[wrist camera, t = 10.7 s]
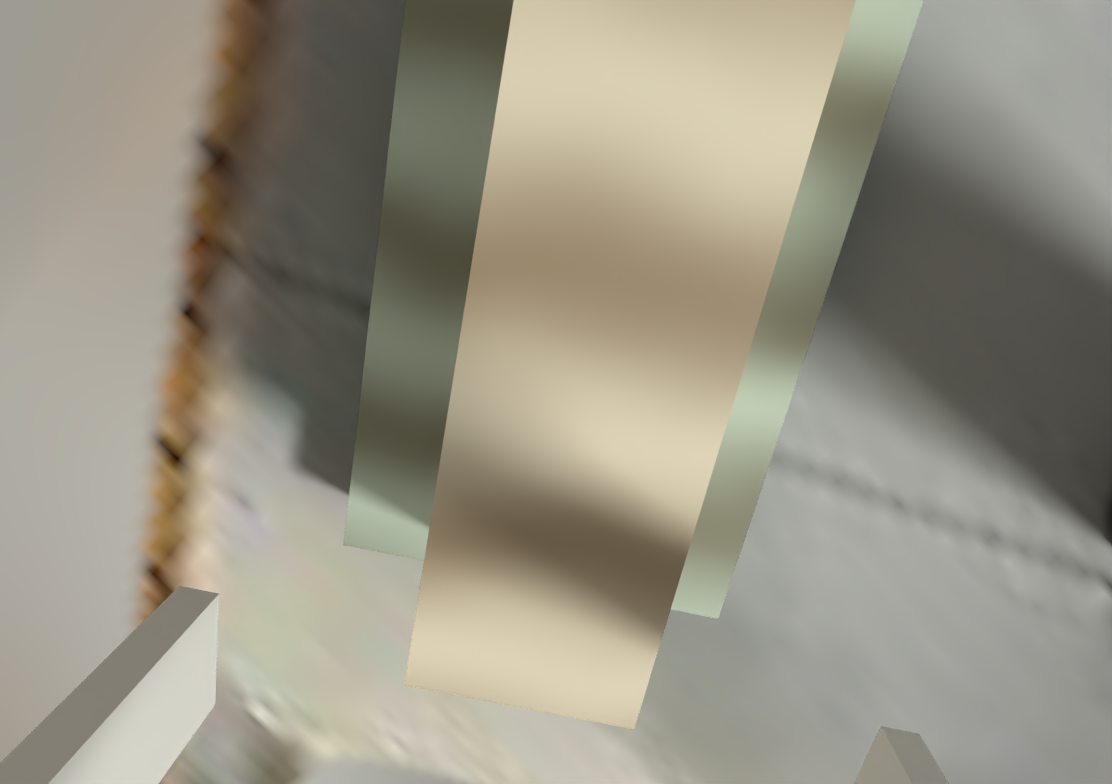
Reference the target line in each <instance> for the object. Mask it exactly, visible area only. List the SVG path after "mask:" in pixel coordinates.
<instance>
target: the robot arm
mask: <svg viewBox="0 0 1112 784" xmlns="http://www.w3.org/2000/svg"><path fill="white" fill-rule="evenodd" d="M218 609H219V594H217V593H212V592H207V591H202V590H197V589H192V588H187V587H182V586H179V587H178V588H177V589H176V590H175V591H174V592H173V593H172V594H171V595H170V596H169V597H168V598H167V599H166V600H165V601H164V602H163V603H162V604H161V605H160V606H159V607H158V608H157V609H156V610H155V611H154V612H153V613H152V614H151V615H150V616H149V617H148V618H147V619H146V620H145V621H144V622H143V623H142V624H141V625H140V626H139V627H138V628H137V629H136V630H135V631H133V632H132V633H131V634H130V635H129V636H128V637H127V638H126V639H125V640H124V641H123V642H122V643H121V644H120V645H119V646H118V647H117V648H116V649H115V650H114V651H113V652H112V653H111V654H110V655H109V656H108V657H107V658H106V659H105V660H104V661H103V662H102V663H101V664H100V665H99V666H98V667H97V668H96V669H95V670H94V671H93V672H92V673H91V674H90V675H89V676H88V677H87V678H86V679H85V680H84V681H83V682H82V683H81V684H80V685H79V686H78V687H77V688H76V689H75V690H74V691H73V692H72V693H71V694H70V695H69V696H68V697H67V698H66V699H65V700H64V701H63V702H61V704H60V705H58V706H57V707H56V708H55V709H54V711H52V712H51V713H50V714H49V715H48V716H47V717H46V718H45V719H44V720H43V721H42V722H41V723H40V724H39V725H38V726H37V727H36V728H35V729H34V730H33V731H32V732H31V733H30V734H29V735H28V736H27V737H26V738H25V739H24V740H23V741H22V742H21V743H20V744H19V745H18V746H17V747H16V748H15V749H14V750H13V751H12V752H11V753H10V754H9V755H8V756H7V757H6V758H5V759H4V760H3V761H2V762H1V763H0V784H158V783H159V782H160V781H161V779H162V778H163V777H164V775H165V774H166V772H167V771H168V770H169V768H170V767H171V765H172V764H173V763H174V761H175V760H176V758H177V757H178V756H179V754H180V753H181V751H182V750H183V749H184V747H185V746H186V744H187V743H188V742H189V740H190V739H191V737H192V736H193V735H194V733H195V732H196V730H197V729H198V728H199V726H200V725H201V723H202V722H203V721H204V719H205V718H206V716H207V715H208V714H209V712H210V711H211V709H212V708H213V707H214V705H215V696H216V667H217V638H218ZM854 784H949V783H948V781H947V780H946V778H945V776H944V775H943V773H942V771H941V770H940V768H939V766H938V765H937V763H936V761H935V760H934V758H933V756H932V755H931V753H930V751H929V750H928V748H927V746H926V745H925V743H924V741H923V740H922V738H921V736H920V735H919V734H917V733H912V732H907V731H902V730H897V729H892V728H887V727H882V726H881V728H880V730H879V732H878V734H877V736H876V738H875V740H874V742H873V745H872V747H871V749H870V751H869V753H868V755H867V757H866V759H865V761H864V764H863V766H862V768H861V770H860V772H859V774H858V776H857V778H856V781H855V783H854Z"/></svg>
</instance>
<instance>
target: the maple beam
mask: <svg viewBox="0 0 1112 784" xmlns="http://www.w3.org/2000/svg"><path fill="white" fill-rule="evenodd" d="M855 2H856V0H514V1H513V8H512V14H511V20H510V26H509V33H508V39H507V45H506V51H505V58H504V64H503V70H502V76H501V83H500V89H499V95H498V101H497V108H496V114H495V120H494V126H493V133H492V139H491V145H490V151H489V158H488V164H487V170H486V176H485V183H484V189H483V195H482V201H481V208H480V214H479V220H478V226H477V233H476V239H475V245H474V251H473V258H472V264H471V270H470V276H469V283H468V289H467V295H466V301H465V308H464V314H463V320H462V326H461V333H460V339H459V345H458V351H457V358H456V364H455V370H454V377H453V383H452V389H451V395H450V402H449V408H448V414H447V420H446V427H445V433H444V439H443V445H442V452H441V458H440V464H439V470H438V477H437V483H436V489H435V495H434V502H433V508H432V514H431V520H430V527H429V533H428V539H427V545H426V552H425V558H424V564H423V570H422V577H421V583H420V589H419V595H418V602H417V608H416V614H415V620H414V627H413V633H412V639H411V645H410V652H409V658H408V664H407V670H406V677H405V683H404V685H406V686H411V687H417V688H422V689H427V690H432V691H437V692H443V693H448V694H453V695H458V696H463V697H468V698H474V699H479V700H484V701H489V702H494V703H500V704H505V705H510V706H515V707H520V708H526V709H531V710H536V711H541V712H546V713H551V714H557V715H562V716H567V717H572V718H577V719H583V720H588V721H593V722H598V723H603V724H609V725H614V726H619V727H624V728H629V729H634V728H635V725H636V721H637V718H638V715H639V711H640V708H641V705H642V702H643V698H644V695H645V692H646V688H647V685H648V682H649V679H650V675H651V672H652V669H653V665H654V662H655V659H656V656H657V652H658V649H659V646H660V642H661V639H662V636H663V633H664V629H665V626H666V623H667V619H668V616H669V613H670V610H671V606H672V603H673V600H674V596H675V593H676V590H677V587H678V583H679V580H680V577H681V573H682V570H683V567H684V564H685V560H686V557H687V554H688V550H689V547H690V544H691V541H692V537H693V534H694V531H695V527H696V524H697V521H698V518H699V514H700V511H701V508H702V504H703V501H704V498H705V495H706V491H707V488H708V485H709V481H710V478H711V475H712V472H713V468H714V465H715V462H716V458H717V455H718V452H719V449H720V445H721V442H722V439H723V435H724V432H725V429H726V426H727V422H728V419H729V416H730V412H731V409H732V406H733V403H734V399H735V396H736V393H737V389H738V386H739V383H740V380H741V376H742V373H743V370H744V366H745V363H746V360H747V357H748V353H749V350H750V347H751V343H752V340H753V337H754V334H755V330H756V327H757V324H758V320H759V317H760V314H761V311H762V307H763V304H764V301H765V297H766V294H767V291H768V288H769V284H770V281H771V278H772V274H773V271H774V268H775V265H776V261H777V258H778V255H779V251H780V248H781V245H782V242H783V238H784V235H785V232H786V228H787V225H788V222H789V219H790V215H791V212H792V209H793V205H794V202H795V199H796V196H797V192H798V189H799V186H800V182H801V179H802V176H803V173H804V169H805V166H806V163H807V159H808V156H809V153H810V150H811V146H812V143H813V140H814V136H815V133H816V130H817V127H818V123H819V120H820V117H821V113H822V110H823V107H824V104H825V100H826V97H827V94H828V90H829V87H830V84H831V81H832V77H833V74H834V71H835V67H836V64H837V61H838V58H839V54H840V51H841V48H842V44H843V41H844V38H845V35H846V31H847V28H848V25H849V21H850V18H851V15H852V12H853V8H854V5H855Z"/></svg>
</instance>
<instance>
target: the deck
mask: <svg viewBox="0 0 1112 784" xmlns="http://www.w3.org/2000/svg"><path fill="white" fill-rule="evenodd" d="M513 1H514V0H405V6H404V15H403V24H402V33H401V42H400V50H399V59H398V68H397V77H396V86H395V94H394V103H393V112H392V121H391V130H390V139H389V147H388V156H387V165H386V174H385V183H384V191H383V200H382V209H381V218H380V227H379V235H378V244H377V253H376V262H375V271H374V280H373V288H372V297H371V306H370V315H369V324H368V332H367V341H366V350H365V359H364V368H363V377H362V385H361V394H360V403H359V412H358V421H357V429H356V438H355V447H354V456H353V465H352V474H351V482H350V491H349V500H348V509H347V518H346V526H345V535H344V544H343V545H347V546H352V547H357V548H362V549H367V550H372V551H377V552H382V553H387V554H392V555H397V556H403V557H408V558H413V559H418V560H423V561H424V558H425V552H426V545H427V539H428V533H429V527H430V520H431V514H432V508H433V502H434V495H435V489H436V483H437V477H438V470H439V464H440V458H441V452H442V445H443V439H444V433H445V427H446V420H447V414H448V408H449V402H450V395H451V389H452V383H453V377H454V370H455V364H456V358H457V351H458V345H459V339H460V333H461V326H462V320H463V314H464V308H465V301H466V295H467V289H468V283H469V276H470V270H471V264H472V258H473V251H474V245H475V239H476V233H477V226H478V220H479V214H480V208H481V201H482V195H483V189H484V183H485V176H486V170H487V164H488V158H489V151H490V145H491V139H492V133H493V126H494V120H495V114H496V108H497V101H498V95H499V89H500V83H501V76H502V70H503V64H504V58H505V51H506V45H507V39H508V33H509V26H510V20H511V14H512V8H513ZM923 1H924V0H856V2H855V5H854V8H853V12H852V15H851V18H850V21H849V25H848V28H847V31H846V35H845V38H844V41H843V44H842V48H841V51H840V54H839V58H838V61H837V64H836V67H835V71H834V74H833V77H832V81H831V84H830V87H829V90H828V94H827V97H826V100H825V104H824V107H823V110H822V113H821V117H820V120H819V123H818V127H817V130H816V133H815V136H814V140H813V143H812V146H811V150H810V153H809V156H808V159H807V163H806V166H805V169H804V173H803V176H802V179H801V182H800V186H799V189H798V192H797V196H796V199H795V202H794V205H793V209H792V212H791V215H790V219H789V222H788V225H787V228H786V232H785V235H784V238H783V242H782V245H781V248H780V251H779V255H778V258H777V261H776V265H775V268H774V271H773V274H772V278H771V281H770V284H769V288H768V291H767V294H766V297H765V301H764V304H763V307H762V311H761V314H760V317H759V320H758V324H757V327H756V330H755V334H754V337H753V340H752V343H751V347H750V350H749V353H748V357H747V360H746V363H745V366H744V370H743V373H742V376H741V380H740V383H739V386H738V389H737V393H736V396H735V399H734V403H733V406H732V409H731V412H730V416H729V419H728V422H727V426H726V429H725V432H724V435H723V439H722V442H721V445H720V449H719V452H718V455H717V458H716V462H715V465H714V468H713V472H712V475H711V478H710V481H709V485H708V488H707V491H706V495H705V498H704V501H703V504H702V508H701V511H700V514H699V518H698V521H697V524H696V527H695V531H694V534H693V537H692V541H691V544H690V547H689V550H688V554H687V557H686V560H685V564H684V567H683V570H682V573H681V577H680V580H679V583H678V587H677V590H676V593H675V596H674V600H673V603H672V606H671V609H672V610H677V611H682V612H687V613H692V614H697V615H702V616H707V617H712V618H717V619H718V618H719V615H720V612H721V609H722V606H723V603H724V600H725V597H726V594H727V591H728V588H729V585H730V582H731V579H732V576H733V573H734V570H735V567H736V564H737V561H738V558H739V555H740V552H741V549H742V546H743V543H744V540H745V537H746V534H747V531H748V528H749V525H750V522H751V519H752V516H753V513H754V510H755V507H756V504H757V501H758V498H759V495H760V492H761V489H762V486H763V482H764V479H765V476H766V473H767V470H768V467H769V464H770V461H771V458H772V455H773V452H774V449H775V446H776V443H777V440H778V437H779V434H780V431H781V428H782V425H783V422H784V419H785V416H786V413H787V410H788V407H789V404H790V401H791V398H792V395H793V392H794V389H795V386H796V383H797V380H798V377H799V374H800V371H801V368H802V365H803V362H804V359H805V356H806V353H807V350H808V347H809V344H810V341H811V338H812V335H813V332H814V329H815V326H816V323H817V320H818V317H819V314H820V311H821V308H822V305H823V302H824V299H825V296H826V293H827V290H828V287H829V284H830V281H831V278H832V275H833V272H834V269H835V266H836V263H837V260H838V257H839V254H840V251H841V248H842V245H843V242H844V239H845V236H846V233H847V230H848V227H849V224H850V221H851V218H852V215H853V212H854V209H855V206H856V203H857V200H858V197H859V194H860V191H861V187H862V184H863V181H864V178H865V175H866V172H867V169H868V166H869V163H870V160H871V157H872V154H873V151H874V148H875V145H876V142H877V139H878V136H879V133H880V130H881V127H882V124H883V121H884V118H885V115H886V112H887V109H888V106H889V103H890V100H891V97H892V94H893V91H894V88H895V85H896V82H897V79H898V76H899V73H900V70H901V67H902V64H903V61H904V58H905V55H906V52H907V49H908V46H909V43H910V40H911V37H912V34H913V31H914V28H915V25H916V22H917V19H918V16H919V13H920V10H921V7H922V4H923Z"/></svg>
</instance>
